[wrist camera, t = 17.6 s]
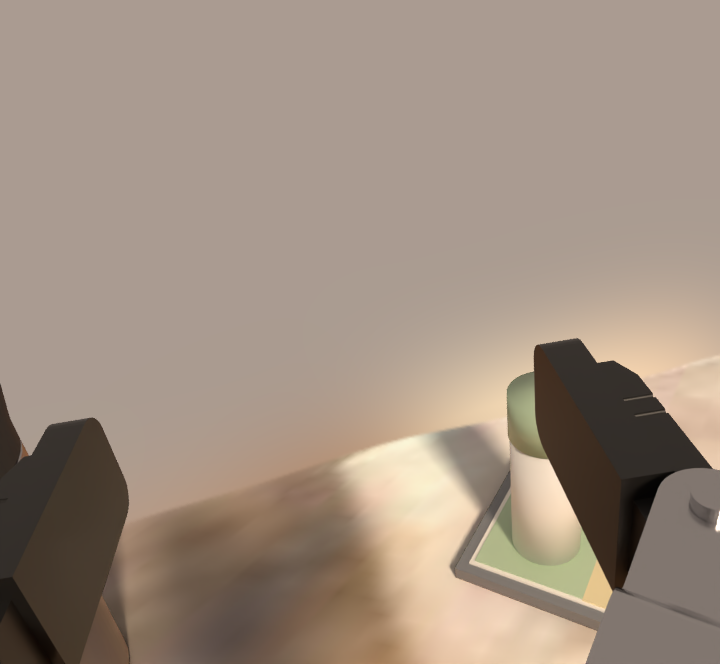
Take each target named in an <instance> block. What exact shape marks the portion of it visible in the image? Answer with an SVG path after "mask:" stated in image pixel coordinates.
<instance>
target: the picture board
mask: <svg viewBox="0 0 720 664" xmlns="http://www.w3.org/2000/svg"><path fill="white" fill-rule="evenodd" d="M455 574H456V578H459V579H462V580H464V581H467V582H470V583H472V584H475V585H478V586H480V587H483V588H486V589H488V590H491V591H494V592H496V593H499V594H502V595H504V596H507V597H509V598H512V599H515V600H517V601H520V602H523V603H525V604H528V605H531V606H533V607H536V608H539V609H541V610H544V611H547V612H549V613H552V614H555V615H557V616H560V617H562V618H565V619H568V620H570V621H573V622H576V623H578V624H581V625H584V626H586V627H589V628H592V629H594V630H597V631H598V628H599V626H600V623H601V620H602V618H603V615H604V612H605V609H606V607H607V604H608V601H609V599H610V597H611V594H612V592H613V591H612V589H611V587H610V585H609V583H608V581H607V579H606V577H605V575H604V573H603V571H602V569H601V567H600V565H599V563H598V561H597V558H596V556H595V554H594V552H593V550H592V548H591V546H590V544H589V542H588V540H587V538H586V536H585V534H584V532H583V530H582V527H581V544H580V549H579V552H578V553H577V555H576V556H575V557H574V558H573V559H572V560H570V561H568V562H567V563H564V564H561V565H555V566H545V565H539V564H536V563H533V562H531V561H529V560H527V559H525V558H524V557H523V556H521V555H520V554H519V553H518V551H517V550H516V549H515V547H514V545H513V541H512V514H511V474H510V471H509V473H508V475H507V477H506V478H505V480H504V482H503V484H502V485H501V487H500V489H499V491H498V493H497V494H496V496H495V498H494V500H493V501H492V503H491V505H490V507H489V508H488V510H487V512H486V514H485V516H484V517H483V519H482V521H481V523H480V524H479V526H478V528H477V530H476V532H475V533H474V535H473V537H472V539H471V540H470V542H469V544H468V546H467V547H466V549H465V551H464V553H463V555H462V556H461V558H460V560H459V562H458V563H457V565H456V567H455Z"/></svg>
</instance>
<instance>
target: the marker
mask: <svg viewBox="0 0 720 664" xmlns="http://www.w3.org/2000/svg"><path fill="white" fill-rule="evenodd" d="M507 421H508V437H509V440H510V474H511V514H512V541H513V545H514V547H515V549H516V550H517V551H518V553H519V554H520V555H521V556H523V557H524V558H525V559H527V560H529V561H531V562H533V563H536V564H539V565H545V566H555V565H561V564H564V563H567V562H568V561H570V560H572V559H573V558H574V557H575V556H576V555H577V553H578V552H579V549H580V544H581V525H580V523H579V521H578V519H577V517H576V515H575V513H574V511H573V509H572V507H571V505H570V503H569V501H568V499H567V497H566V494H565V492H564V490H563V488H562V486H561V484H560V482H559V480H558V478H557V476H556V474H555V472H554V470H553V468H552V466H551V464H550V461H549V459H548V457H547V455H546V453H545V451H544V449H543V447H542V444H541V441H540V438H539V435H538V430H537V425H536V418H535V387H534V372H530V373H526V374H524V375H521V376H519V377H517V378H516V379H514V380H513V381H512V382H511V383H510V385H509V386H508V389H507Z"/></svg>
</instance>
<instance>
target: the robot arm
mask: <svg viewBox="0 0 720 664" xmlns="http://www.w3.org/2000/svg"><path fill="white" fill-rule="evenodd" d="M534 387H535V418H536V425H537V430H538V435H539V438H540V441H541V444H542V447H543V449H544V451H545V453H546V455H547V457H548V459H549V461H550V464H551V466H552V468H553V470H554V472H555V474H556V476H557V478H558V480H559V482H560V484H561V486H562V488H563V490H564V492H565V494H566V497H567V499H568V501H569V503H570V505H571V507H572V509H573V511H574V513H575V515H576V517H577V519H578V521H579V523H580V525H581V527H582V530H583V532H584V534H585V536H586V538H587V540H588V542H589V544H590V546H591V548H592V550H593V552H594V554H595V556H596V558H597V561H598V563H599V565H600V567H601V569H602V571H603V573H604V575H605V577H606V579H607V581H608V583H609V585H610V587H611V589H612V591H613V592H612V594H611V597H610V599H609V601H608V604H607V607H606V609H605V612H604V615H603V618H602V620H601V623H600V626H599V628H598V631H597V634H596V637H595V639H594V642H593V645H592V648H591V650H590V653H589V656H588V658H587V661H586V664H720V470H715V469H713V468H712V467H711V466H710V465H709V463H708V462H707V461H706V460H705V458H704V457H703V456H702V455H701V453H700V452H699V451H698V450H697V448H696V447H695V446H694V445H693V443H692V442H691V441H690V440H689V438H688V437H687V436H686V435H685V433H684V432H683V431H682V430H681V428H680V427H679V426H678V425H677V423H676V422H675V421H674V420H673V418H672V417H671V416H670V415H669V413H666V412H665V408H664V407H663V406H662V404H661V403H660V402H659V401H658V399H657V398H656V397H653V393H652V392H651V391H650V389H649V388H648V387H647V386H646V384H645V383H644V382H643V381H642V379H641V378H640V377H639V376H638V375H637V374H636V373H634V372H632V371H631V370H629V369H627V368H625V367H623V366H622V365H620V364H618V363H616V362H615V361H607V362H601V363H597V362H596V361H595V359H594V358H593V357H592V355H591V354H590V352H589V351H588V350H587V348H586V347H585V345H584V344H583V343H582V341H581V340H579V339H578V338H577V339H570V340H564V341H558V342H552V343H546V344H540V345H536V347H535V350H534ZM128 506H129V499H128V489H127V484H126V481H125V479H124V476H123V474H122V472H121V469H120V467H119V465H118V462H117V460H116V458H115V456H114V453H113V451H112V449H111V446H110V444H109V442H108V440H107V437H106V435H105V433H104V431H103V428H102V426H101V424H100V423H99V422H98V421H97V420H96V419H95V418H87V419H81V420H75V421H69V422H63V423H57V424H52V425H50V426H48V428H47V429H46V430H45V432H44V434H43V436H42V438H41V440H40V441H39V443H38V445H37V447H36V448H35V450H34V452H33V454H32V455H31V456H29V455H28V453H27V451H26V450H25V447H24V446H23V444H22V442H21V440H20V438H19V436H18V434H17V432H16V430H15V428H14V426H13V424H12V422H11V420H10V417H9V414H8V410H7V406H6V403H5V399H4V395H3V392H2V388H1V385H0V664H129V652H128V647H127V645H126V643H125V640H124V638H123V636H122V634H121V632H120V630H119V628H118V626H117V624H116V623H115V621H114V619H113V617H112V615H111V613H110V611H109V609H108V607H107V605H106V603H105V601H104V599H103V597H102V592H103V589H104V586H105V583H106V580H107V576H108V573H109V570H110V567H111V564H112V561H113V558H114V555H115V551H116V548H117V545H118V542H119V539H120V536H121V533H122V529H123V526H124V523H125V520H126V517H127V513H128Z"/></svg>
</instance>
